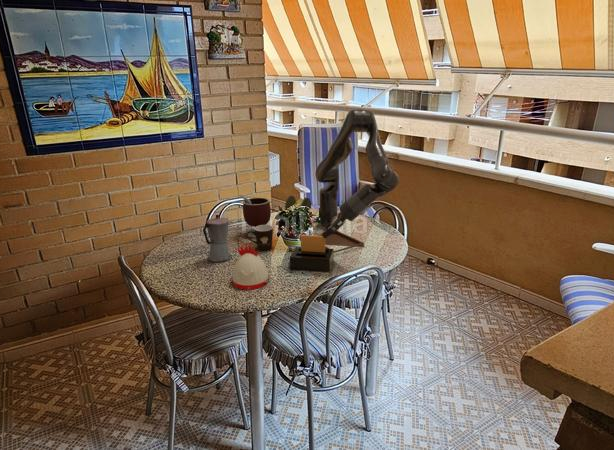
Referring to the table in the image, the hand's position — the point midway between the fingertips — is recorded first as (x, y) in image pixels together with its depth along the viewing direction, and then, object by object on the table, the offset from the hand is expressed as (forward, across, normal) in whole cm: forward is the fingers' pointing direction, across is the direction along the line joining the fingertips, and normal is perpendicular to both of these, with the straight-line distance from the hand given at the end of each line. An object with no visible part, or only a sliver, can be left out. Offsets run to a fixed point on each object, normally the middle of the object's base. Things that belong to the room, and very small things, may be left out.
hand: (325, 232), depth 164 cm
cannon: (+30, -59, -8) cm, 66 cm away
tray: (+10, -25, +11) cm, 29 cm away
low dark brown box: (+14, +2, +7) cm, 16 cm away
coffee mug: (+34, -16, -12) cm, 39 cm away
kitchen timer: (+30, +17, -8) cm, 35 cm away
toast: (+13, 0, +6) cm, 14 cm away
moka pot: (+44, -1, -23) cm, 49 cm away
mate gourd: (+39, -34, -18) cm, 55 cm away
